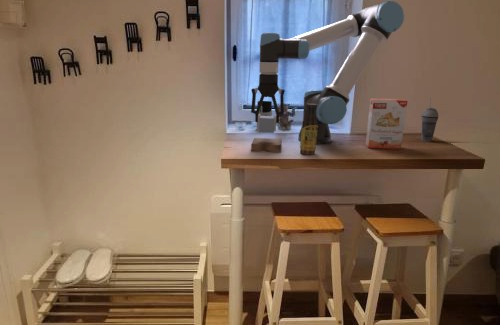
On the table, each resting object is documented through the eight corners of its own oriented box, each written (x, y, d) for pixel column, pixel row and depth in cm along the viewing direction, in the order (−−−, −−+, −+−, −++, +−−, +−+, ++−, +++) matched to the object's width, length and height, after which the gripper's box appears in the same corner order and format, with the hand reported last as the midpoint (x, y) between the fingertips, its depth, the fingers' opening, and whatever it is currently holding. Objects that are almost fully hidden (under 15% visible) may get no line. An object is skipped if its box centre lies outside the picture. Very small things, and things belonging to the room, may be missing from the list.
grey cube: (274, 130, 156) (275, 116, 155) (273, 133, 151) (273, 118, 149) (260, 129, 157) (260, 115, 156) (258, 132, 152) (259, 117, 150)
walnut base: (281, 145, 161) (281, 139, 160) (280, 152, 150) (280, 145, 149) (254, 144, 162) (254, 138, 162) (251, 151, 151) (251, 144, 150)
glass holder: (274, 129, 199) (274, 101, 195) (267, 133, 186) (267, 104, 182) (258, 128, 202) (258, 100, 198) (250, 132, 189) (251, 103, 184)
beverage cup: (430, 143, 170) (436, 99, 164) (415, 140, 175) (421, 97, 170) (437, 141, 174) (444, 98, 169) (422, 138, 180) (428, 97, 174)
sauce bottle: (303, 155, 145) (306, 105, 139) (297, 152, 150) (299, 103, 145) (318, 154, 146) (322, 104, 141) (311, 151, 152) (314, 102, 147)
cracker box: (368, 148, 158) (373, 99, 152) (365, 145, 164) (369, 98, 158) (401, 149, 157) (408, 100, 151) (397, 146, 163) (403, 98, 157)
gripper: (292, 73, 150) (289, 129, 156) (246, 72, 152) (245, 127, 158) (292, 74, 143) (289, 133, 149) (244, 73, 145) (243, 131, 151)
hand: (266, 130), depth 154 cm, fingers closed on grey cube, 6 cm apart
